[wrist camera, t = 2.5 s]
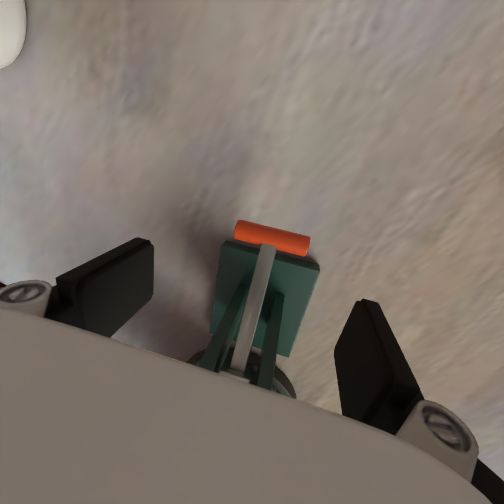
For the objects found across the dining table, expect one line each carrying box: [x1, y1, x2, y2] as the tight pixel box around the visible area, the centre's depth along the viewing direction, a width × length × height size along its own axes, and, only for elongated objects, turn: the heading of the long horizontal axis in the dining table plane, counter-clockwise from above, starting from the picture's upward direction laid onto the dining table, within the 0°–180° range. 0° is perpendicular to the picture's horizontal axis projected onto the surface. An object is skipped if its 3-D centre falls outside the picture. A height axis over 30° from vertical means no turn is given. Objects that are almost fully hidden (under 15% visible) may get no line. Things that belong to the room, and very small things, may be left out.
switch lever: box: [219, 220, 310, 384], centre depth 17 cm, size 13×5×2 cm, turn 169°
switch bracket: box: [196, 241, 320, 392], centre depth 21 cm, size 12×10×13 cm
